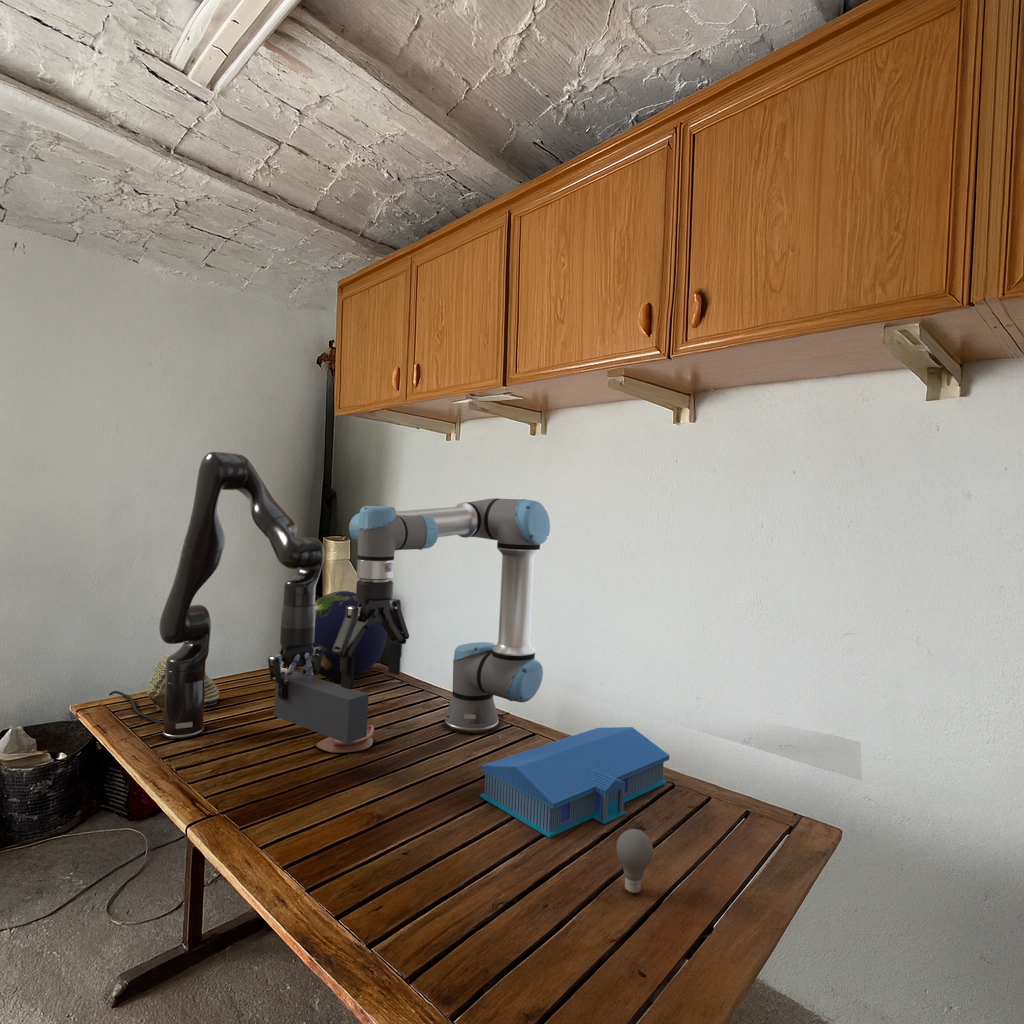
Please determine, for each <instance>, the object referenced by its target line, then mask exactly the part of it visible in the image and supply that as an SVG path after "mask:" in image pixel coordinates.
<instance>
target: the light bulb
mask: <svg viewBox="0 0 1024 1024" xmlns="http://www.w3.org/2000/svg"><path fill="white" fill-rule="evenodd" d="M615 849H616V854H617V857H618V859H619V861H620V863H621V865H622V867H623V873H624V874H623V875H624V876H625V878H624V888H625V890H627V891H628V892H630V893H634V894H635V893H639V892H640V891H641V889H642V887H641V886H642V879H643V877H644V875H645V871H646V868H647V867H648V866H649V864H650V863H651V861H652V859H653V855H654V847H653V843H652V841H651V838H649V836H648V835H647V834H646V833H645V832H643V831H642V830H641V829H636V828H629V829H627V830H625V831H623V832H622V833H621V834H620V835H619V837H618V839H617V841H616V847H615Z"/></svg>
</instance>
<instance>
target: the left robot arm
mask: <svg viewBox="0 0 1024 1024" xmlns="http://www.w3.org/2000/svg"><path fill="white" fill-rule="evenodd" d="M199 464H200V465H199V468H198V471H197V479H196V484H195V485H196V486H195V492H194V499H193V500H194V501H193V505H192V510H191V514H190V518H189V523H188V527H187V531H186V534H185V536H184V540H183V544H182V548H181V552H180V557H179V561H178V565H177V568H176V572H175V575H174V579H173V582H172V586H171V589H170V591H169V594H168V596H167V599H166V602H165V604H164V606H163V610H162V612H161V616H160V618H159V625H158V626H159V627H158V628H159V629H158V630H159V636H160V638H161V640H162V641H163V642H164V643H165V644H168V645H177V644H178V645H179V644H182V645H181V646H180V647H179V648H178V650H177V651H175V652H173V653H172V654H169V655H170V656H169V657H168V658H167V660H166V674H165V705H164V708H163V709H162V711H161V713H162V715H161V716H162V717H161V721H160V720H157V719H156V718H153V717H152V716H150V715H147V714H145V713H144V712H142V711H140V710H139V709H138V708H137V704H136V701H135V700H134V698H133V697H132V696H130V695H128V694H126V693H124V692H122V691H119V690H112V691H111V692H110V693H108V696H112V695H114V694H116V695H120V696H122V697H124V698H125V699H128V700H129V701H130V702H131V705H132V709H133V711H134V712H135V713H136V714H137V715H139V716H140V717H143V718H145V719H147V720H149V721H151V722H153V723H157V724H161V725H162V724H163V730H162V737H164V738H166V739H169V740H185V739H190V738H191V739H192V738H194V737H197V736H199V735H202V734H203V732H204V730H205V729H204V727H205V725H204V722H205V721H204V718H205V706H204V693H205V672H206V664H207V663H206V662H207V658H208V655H209V653H210V652H209V651H210V641H211V633H212V632H211V629H212V619H211V614H210V612H209V610H208V608H207V607H206V606H205V605H203V604H192V602H193V600H194V597H195V596H196V595H197V593H198V592H199V590H201V588H202V587H203V586H204V584H206V583H207V582H208V580H210V578H212V575H213V574H214V573H215V572H216V571H217V569H218V568H219V566H220V563H221V560H222V558H223V557H222V556H223V553H224V550H225V545H226V536H225V532H224V529H223V526H222V523H221V521H220V518H219V515H218V505H219V499H220V495H221V492H222V490H223V491H238V492H239V493H240V494H242V495H243V496H244V497H246V499H247V500H248V502H249V507H250V515H251V518H252V519H251V520H252V521H253V523H254V525H255V526H256V527H257V528H258V530H260V532H261V533H262V534H263V535H264V536H265V538H267V539H268V542H269V543H270V546H271V548H272V550H273V553H274V556H275V557H276V559H277V561H278V562H279V564H281V565H282V566H283V567H284V568H287V569H291V570H297V571H296V573H295V575H294V576H292V577H290V578H289V579H287V580H286V581H284V585H283V595H282V596H283V598H282V609H281V614H280V637H279V644H280V647H281V648H280V651H279V653H278V654H276V655H269V656H268V657H267V663H268V672H269V679H270V681H271V682H274V683H275V682H277V683H278V697H279V698H280V699H282V700H287V699H288V684H287V683H288V681H289V678H290V676H291V674H293V672H295V670H296V669H298V668H299V669H300V670H301V673H302V674H305V675H308V676H312V677H314V675H316V674H317V675H319V672H320V667H321V662H322V656H323V651H324V650H323V648H319V647H314V648H313V645H312V644H313V643H314V637H315V616H316V613H315V601H316V590H317V589H316V588H317V584H318V582H319V579H320V575H321V571H322V569H323V565H324V561H325V548H324V545H323V543H322V542H321V540H320V539H319V538H316V537H312V536H307V537H295V536H296V534H297V531H298V527H297V524H296V522H295V521H294V519H292V517H290V515H288V513H287V512H286V511H285V509H283V508H282V507H281V506H280V505H279V504H278V502H277V501H276V499H274V497H273V496H272V494H271V493H270V491H269V490H268V488H267V486H266V485H265V483H264V481H263V480H262V478H261V477H260V475H259V474H258V471H256V468H255V467H254V465H253V464H252V463H251V461H250V460H249V459H248V458H247V457H246V456H245V455H243V454H241V453H235V452H224V451H210V452H207V453H206V454H205V455H204V456H203V458H202V460H201V462H200V463H199ZM311 655H312V657H311ZM310 657H311V661H310ZM315 663H316V665H315ZM284 675H285V676H284Z"/></svg>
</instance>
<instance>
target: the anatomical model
mask: <svg viewBox="0 0 1024 1024" xmlns="http://www.w3.org/2000/svg"><path fill="white" fill-rule="evenodd" d="M374 732H375V727H374V725H371V724H369V725H368V724H367V736H366V737H363V738H361V739H358V740H356V741H353V742H350V743H348V744H347V743H344V742H341V741H339V740H336V739H333V738H331V737H326V738H324V739H322V740H320V741H318V742H317V743H316V747H317V748H318V749H320V750H322V751H325V752H328V753H333V754H340V753H341V754H342V753H353V752H359V751H363V750H366V749H369V748H371V747H372V746H373V743H374V739H373V737H372V736H373V735H374Z"/></svg>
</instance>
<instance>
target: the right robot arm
mask: <svg viewBox="0 0 1024 1024" xmlns="http://www.w3.org/2000/svg"><path fill="white" fill-rule="evenodd" d="M348 527H349V528H348V532H349V535H350V538H351V539H352V540H353V541H354V542H356V543H357V560H356V561H357V562H356V563H357V564H356V566H357V567H356V578H357V579H358V580H357V581H356V587H355V590H356V591H355V593H356V597H357V598H358V600H359V603H358V606H357V607H354V606H349V605H348V606H347V607H346V611H345V618H344V620H343V623H342V625H341V628H340V631H339V633H338V636H337V638H336V641H335V643H334V646H333V649H332V653H333V654H337V655H339V656H340V672H342V676H341V679H340V685H341V687H343V688H347V689H354V684H355V683H354V681H355V677H354V658H355V656H351V655H352V653H353V651H354V650H355V648H356V646H357V644H358V643H359V641H360V639H361V637H362V636H363V634H364V632H365V630H366V629H368V628H369V627H370V625H375V624H377V623H378V624H381V625H382V626H383V628H384V629H385V631H386V632H387V636H388V637H389V639H390V640H391V642H388V663H387V674H393V675H397V676H398V675H400V673H401V672H400V671H401V658H402V653H403V652H402V650H403V645H405V644H406V643H407V640H408V639H409V638H410V633H409V630H408V626H407V624H406V622H405V617H404V615H403V612H402V604H401V603H402V602H401V599H397V598H396V599H395V598H393V597H394V582H393V580H391V579H393V578H394V562H395V551H405V550H406V551H408V550H419V551H422V550H425V549H431V548H432V547H433V546H435V544H436V543H437V541H438V538H442V537H443V538H444V537H452V536H459V537H460V538H478V539H486V540H491V541H496V542H497V543H496V549H497V550H498V551H499V553H500V554H501V555H502V556H501V574H500V575H501V576H500V577H501V578H500V596H499V619H498V636H497V637H498V639H497V643H496V644H495V643H493V642H486V641H485V642H484V641H483V642H482V641H480V642H468V643H463V644H460V645H458V646H457V647H456V648H455V649H454V652H453V660H452V695H451V699H450V703H449V705H448V708H447V710H446V714H445V717H444V726H445V727H446V728H447V729H448V730H450V731H452V732H455V733H459V734H467V735H481V734H486V733H490V732H493V731H495V730H497V729H498V728H499V718H504V714H502V713H498V711H497V708H496V704H495V700H494V696H495V697H498V698H501V699H504V700H508V701H509V702H517V703H527V702H529V701H530V700H531V699H532V698H534V696H535V695H536V694H537V692H538V691H539V689H540V687H541V685H542V681H543V678H544V668H543V665H542V663H541V662H540V661H538V660H537V659H535V658H536V649H535V648H534V647H533V646H532V644H531V629H532V628H531V626H532V608H533V607H532V606H533V605H532V604H533V588H534V587H533V586H534V585H533V583H534V564H535V562H534V561H535V556H536V555H537V554H538V553H539V552H540V551H541V545H542V544H544V543H545V542H547V540H548V537H549V535H550V532H551V520H550V516H549V514H548V511H547V509H546V508H545V506H544V505H543V504H542V503H541V502H539V501H538V500H532V499H527V498H497V497H495V498H492V497H491V498H485V499H479V500H474V501H468V502H467V501H466V502H460V503H458V504H456V505H455V506H451V507H436V508H435V507H434V508H423V509H422V508H421V509H409V510H396V508H395V507H393V506H385V505H384V506H383V505H381V506H380V505H364V506H362V507H361V508H360V510H359V512H358V513H356V514H355V515H354V516H353V517H351V519H350V522H349V526H348ZM361 621H363V622H361ZM339 648H340V649H339ZM347 649H348V650H347Z"/></svg>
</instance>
